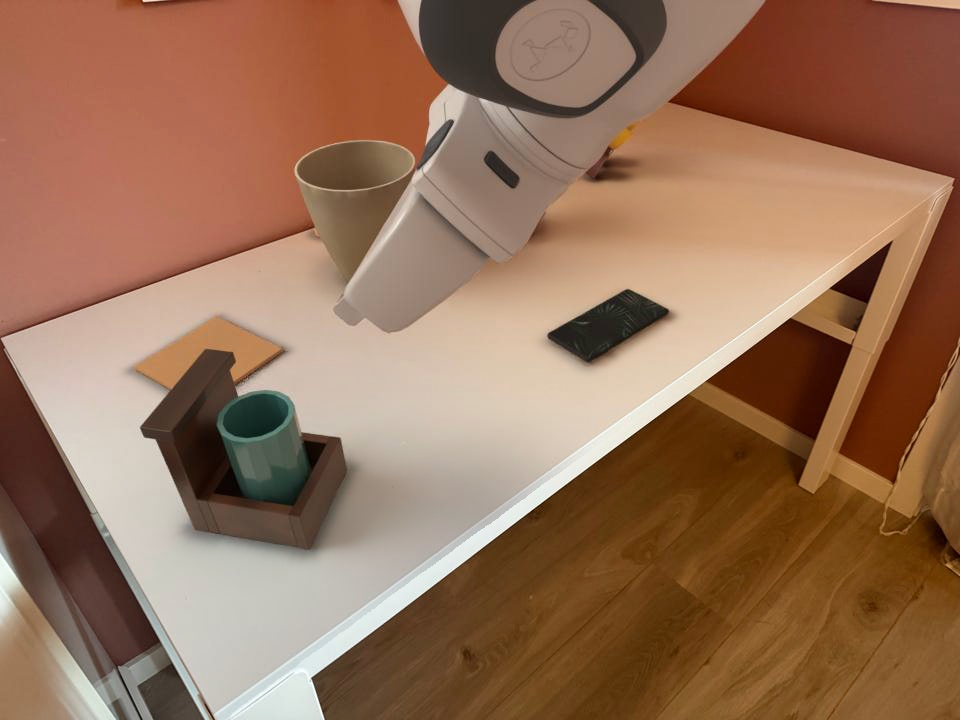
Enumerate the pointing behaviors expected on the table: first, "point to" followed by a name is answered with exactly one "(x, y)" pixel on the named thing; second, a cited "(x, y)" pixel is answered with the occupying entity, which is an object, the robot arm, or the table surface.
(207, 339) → the mat
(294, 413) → the cup
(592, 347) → the smartphone
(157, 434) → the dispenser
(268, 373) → the table surface
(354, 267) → the plant pot
